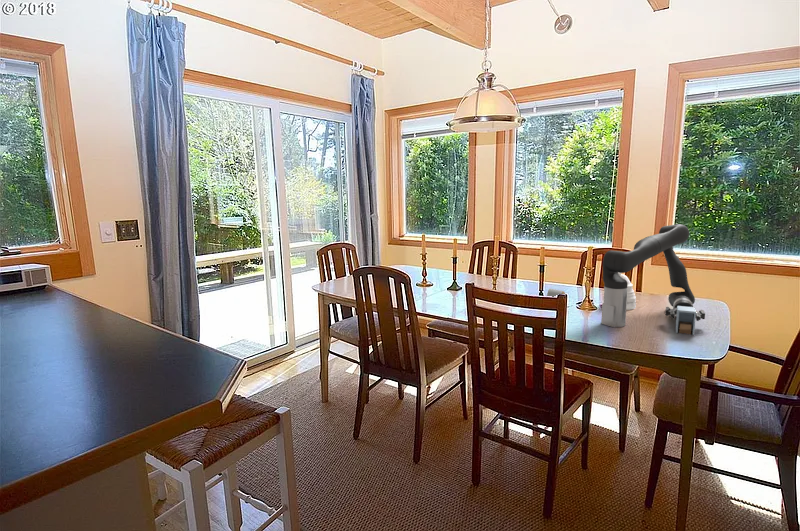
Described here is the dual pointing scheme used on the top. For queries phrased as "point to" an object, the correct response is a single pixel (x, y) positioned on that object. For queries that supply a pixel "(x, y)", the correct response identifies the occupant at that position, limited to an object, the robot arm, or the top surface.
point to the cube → (685, 327)
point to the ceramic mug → (554, 292)
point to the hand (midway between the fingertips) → (685, 317)
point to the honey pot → (629, 294)
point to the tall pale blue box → (686, 316)
